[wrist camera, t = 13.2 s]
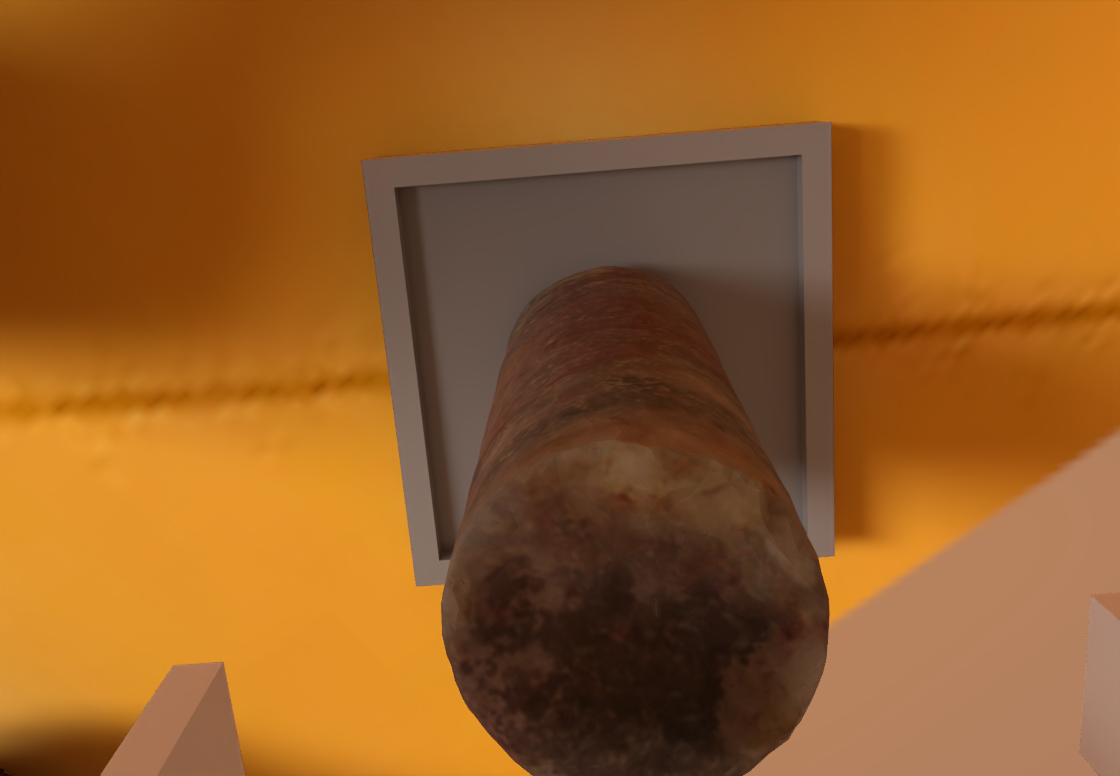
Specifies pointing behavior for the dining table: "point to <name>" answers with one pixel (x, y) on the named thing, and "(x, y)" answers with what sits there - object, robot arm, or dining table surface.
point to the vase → (3, 773)
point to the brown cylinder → (629, 550)
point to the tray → (597, 241)
